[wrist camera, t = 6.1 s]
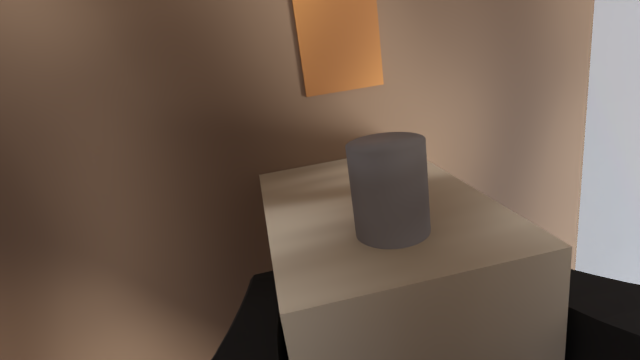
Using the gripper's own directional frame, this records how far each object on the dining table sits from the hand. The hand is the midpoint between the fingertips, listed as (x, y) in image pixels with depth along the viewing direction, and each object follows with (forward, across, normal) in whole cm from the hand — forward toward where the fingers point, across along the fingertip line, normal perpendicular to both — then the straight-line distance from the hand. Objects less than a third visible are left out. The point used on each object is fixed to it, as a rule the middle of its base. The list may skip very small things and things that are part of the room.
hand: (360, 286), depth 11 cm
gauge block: (+1, 0, 0) cm, 1 cm away
